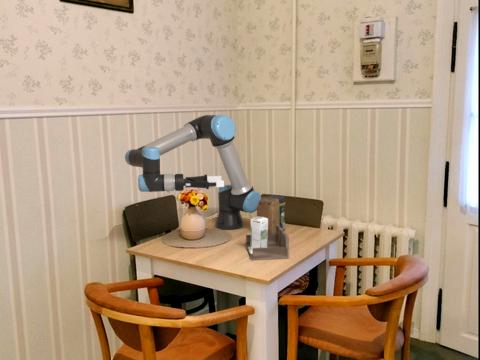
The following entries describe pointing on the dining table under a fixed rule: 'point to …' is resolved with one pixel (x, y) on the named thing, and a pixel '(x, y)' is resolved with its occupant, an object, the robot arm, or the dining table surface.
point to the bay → (271, 247)
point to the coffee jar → (281, 209)
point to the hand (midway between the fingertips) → (222, 181)
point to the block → (269, 212)
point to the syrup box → (259, 233)
